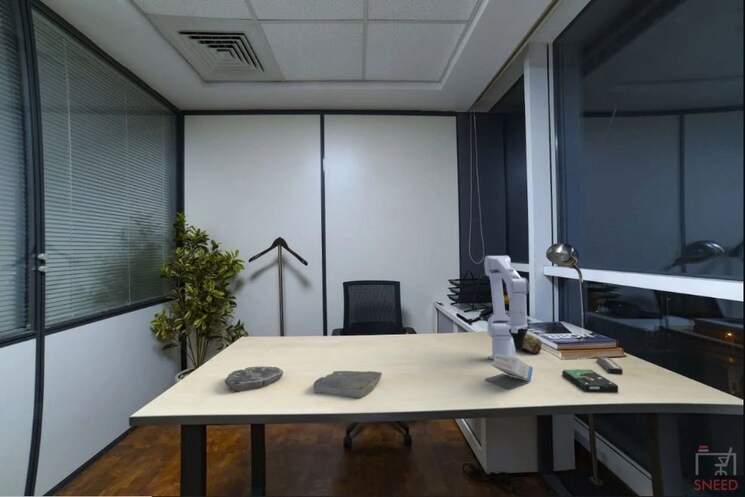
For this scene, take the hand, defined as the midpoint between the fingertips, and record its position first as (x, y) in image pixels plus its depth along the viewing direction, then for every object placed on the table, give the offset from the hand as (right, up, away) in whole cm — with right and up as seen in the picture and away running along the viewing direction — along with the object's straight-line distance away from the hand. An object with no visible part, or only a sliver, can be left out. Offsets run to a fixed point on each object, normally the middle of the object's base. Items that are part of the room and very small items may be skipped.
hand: (518, 349), depth 117 cm
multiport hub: (+39, -10, +9) cm, 41 cm away
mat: (-6, -10, -4) cm, 12 cm away
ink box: (0, -8, 0) cm, 8 cm away
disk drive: (+21, -10, -6) cm, 24 cm away
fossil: (-61, -11, -6) cm, 63 cm away
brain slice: (-96, -12, -1) cm, 97 cm away
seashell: (+19, -11, +31) cm, 38 cm away
